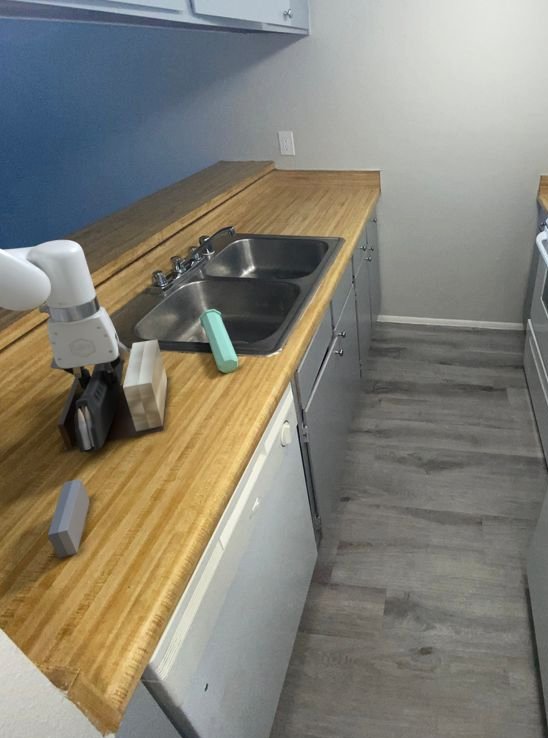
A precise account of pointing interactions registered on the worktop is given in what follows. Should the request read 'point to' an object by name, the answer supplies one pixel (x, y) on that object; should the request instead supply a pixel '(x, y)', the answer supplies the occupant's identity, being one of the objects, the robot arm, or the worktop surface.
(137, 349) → the book rack
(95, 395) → the magazine
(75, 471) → the worktop surface
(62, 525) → the blue-grey rectangular block
